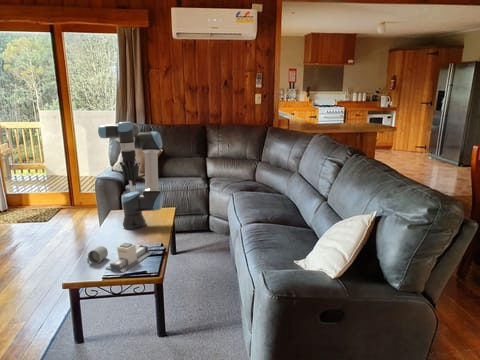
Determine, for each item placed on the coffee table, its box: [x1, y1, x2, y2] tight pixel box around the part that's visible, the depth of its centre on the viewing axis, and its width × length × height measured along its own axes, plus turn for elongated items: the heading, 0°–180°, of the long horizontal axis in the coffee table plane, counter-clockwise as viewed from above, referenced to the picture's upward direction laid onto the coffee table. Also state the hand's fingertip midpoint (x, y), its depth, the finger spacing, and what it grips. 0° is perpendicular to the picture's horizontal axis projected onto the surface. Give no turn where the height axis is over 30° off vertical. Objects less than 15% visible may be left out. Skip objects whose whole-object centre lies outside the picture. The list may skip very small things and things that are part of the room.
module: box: [116, 242, 137, 265], centre depth 185 cm, size 6×7×10 cm
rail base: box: [105, 244, 154, 273], centre depth 188 cm, size 24×12×4 cm, turn 156°
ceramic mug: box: [86, 245, 109, 265], centre depth 189 cm, size 11×8×8 cm
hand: (133, 191), depth 198 cm, fingers closed
